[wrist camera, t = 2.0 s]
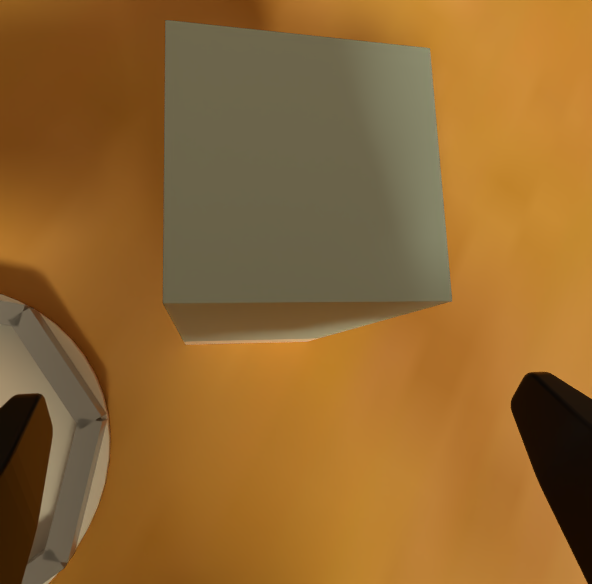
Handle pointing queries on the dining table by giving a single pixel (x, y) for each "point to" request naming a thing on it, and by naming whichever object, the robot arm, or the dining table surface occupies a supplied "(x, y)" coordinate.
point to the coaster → (57, 430)
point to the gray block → (297, 185)
